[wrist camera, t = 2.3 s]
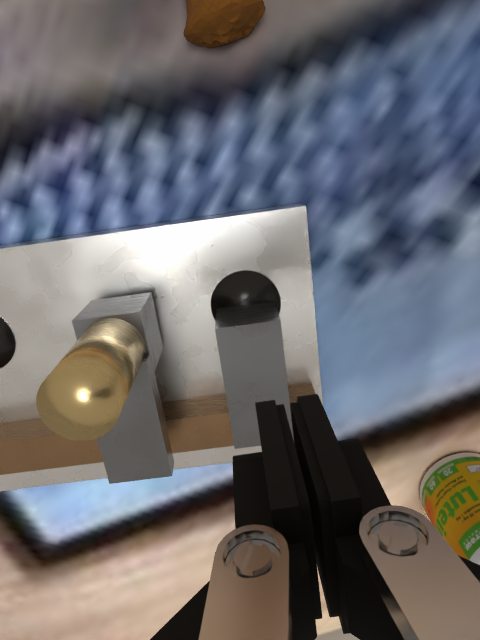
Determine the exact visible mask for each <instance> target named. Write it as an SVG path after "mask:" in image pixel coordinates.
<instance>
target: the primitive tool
mask: <svg viewBox="0 0 480 640" xmlns="http://www.w3.org/2000/svg"><path fill="white" fill-rule="evenodd" d="M186 1H187V21H186V27H185V30H184V36H185V37H186V40H187V41H189V42H192V43H194V44H197V45H198V46H206V47H209V48H212V47H217V46H221V45H223V44H227V43H231V42H234V41H236V40H238V39H240V38H243V37H246V36H248V35H249V33H250V32H251V31H252V30H253V28H254V27H255V24H256V23H257V22H258V20H259V19H260V18H261V17H262V15H263V14H264V11H265V6H264V2H263V0H186Z"/></svg>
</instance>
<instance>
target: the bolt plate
mask: <svg viewBox="0 0 480 640" xmlns="http://www.w3.org/2000/svg"><path fill="white" fill-rule="evenodd" d="M149 292H152V297H153V302H154V307H155V311H156V316H157V321H158V326H159V330H160V335H161V340H162V345H163V349H162V352H161V355H160V358H159V361H158V363H157V366H156V369H155V377H156V381H157V386H158V390H159V395H160V399H161V404H162V408H163V413H164V417H165V422H166V427H167V431H168V436H169V440H170V445H171V449H172V454H173V458H174V468H173V470H174V469H182V468H191V467H199V466H207V465H215V464H223V463H231V462H233V456H235V455H242V454H249V453H256V452H262V449H261V441H260V434H259V427H258V420H257V413H256V406H255V402H263V401H270V400H275V402H276V405H280V404H284V407H285V410H286V414H287V418H288V422H289V426H290V429H291V433H292V437H293V429H292V420H291V411H290V403H294V402H297V397H298V396H305V395H312V394H318V396H319V398H320V400H321V403H322V405H323V401H322V389H321V377H320V365H319V354H318V342H317V330H316V318H315V307H314V295H313V283H312V271H311V260H310V248H309V236H308V224H307V213H306V206H305V205H304V204H302V203H297V204H290V205H283V206H276V207H269V208H262V209H255V210H248V211H240V212H233V213H226V214H219V215H212V216H205V217H198V218H191V219H184V220H176V221H169V222H162V223H155V224H148V225H141V226H134V227H127V228H120V229H112V230H105V231H98V232H91V233H84V234H77V235H70V236H63V237H56V238H48V239H41V240H34V241H27V242H20V243H13V244H6V245H0V491H5V490H13V489H22V488H30V487H38V486H46V485H54V484H62V483H70V482H78V481H86V480H94V479H102V478H108V476H107V473H106V469H105V466H104V462H103V459H102V455H101V452H100V448H99V445H98V441H97V439H94V440H89V441H75V440H70V439H67V438H64V437H62V436H60V435H58V434H56V433H55V432H53V431H52V430H51V429H49V428H48V427H47V426H46V425H45V423H44V422H43V421H42V419H41V417H40V416H39V413H38V410H37V406H36V396H37V392H38V389H39V387H40V385H41V384H42V382H43V381H44V380H45V379H46V378H47V376H48V375H49V374H50V373H51V372H52V370H53V369H54V368H55V367H56V366H57V364H58V363H59V362H60V361H61V360H62V358H63V357H64V356H65V355H66V354H67V352H68V351H69V350H70V349H71V348H72V346H73V345H74V344H75V343H76V342H77V338H76V335H75V331H74V327H73V324H72V320H73V319H74V318H75V317H76V316H77V315H78V314H79V313H80V312H81V311H82V310H83V309H84V308H85V307H86V306H87V304H88V303H89V302H90V301H91V300H97V299H105V298H112V297H119V296H127V295H134V294H141V293H149ZM293 441H294V437H293Z"/></svg>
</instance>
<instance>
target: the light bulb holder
mask: <svg viewBox="0 0 480 640" xmlns="http://www.w3.org/2000/svg"><path fill="white" fill-rule="evenodd" d="M72 324H73V327H74V331H75V335H76V338H77V342H76V343H75V344H74V345H73V346H72V348H71V349H70V350H69V351H68V352H67V354H66V355H65V356H64V357H63V358H62V360H61V361H60V362H59V363H58V364H57V366H56V367H55V368H54V369H53V370H52V372H51V373H50V374H49V375H48V376H47V378H46V379H45V380H44V381H43V382H42V384H41V385H40V387H39V389H38V392H37V396H36V406H37V410H38V413H39V416H40V417H41V419H42V421H43V422H44V423H45V425H46V426H47V427H48V428H49V429H51V430H52V431H53V432H55V433H56V434H58V435H60V436H62V437H64V438H67V439H70V440H75V441H89V440H94V439H97V441H98V445H99V448H100V452H101V455H102V459H103V462H104V466H105V469H106V473H107V476H108V480H109V483H110V484H111V483H119V482H127V481H135V480H143V479H151V478H160V477H168V476H172V473H173V468H174V458H173V454H172V449H171V445H170V440H169V436H168V431H167V427H166V422H165V417H164V413H163V408H162V404H161V399H160V395H159V390H158V386H157V381H156V377H155V369H156V366H157V363H158V361H159V358H160V355H161V352H162V349H163V345H162V340H161V335H160V330H159V326H158V321H157V316H156V311H155V307H154V302H153V297H152V292H149V293H141V294H134V295H127V296H119V297H112V298H105V299H97V300H91V301H90V302H89V303H88V304H87V306H86V307H85V308H84V309H83V310H82V311H81V312H80V313H79V314H78V315H77V316H76V317H75V318H74V319H73V320H72Z"/></svg>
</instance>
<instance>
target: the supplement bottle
mask: <svg viewBox="0 0 480 640" xmlns="http://www.w3.org/2000/svg"><path fill="white" fill-rule="evenodd" d="M420 499H421V503H422V505H423V507H424V509H425V511H426V513H427V515H428V517H429V519H430V521H431V522H432V524H433V525H434V526H435V528H436V529H437V530H438V531H439V533H440V534H441V535H442V536H443V538H444V539H445V540H446V541H447V543H448V544H449V545H450V546H451V548H452V549H453V550H454V551H455V552H456V554H457V555H459V556H461V557H463V558H465V559H467V560H470V561H472V562H474V563H476V564H478V565H480V454H477V453H458V454H454V455H450V456H448V457H445V458H443V459H441V460H440V461H438V462H437V463H435V464H434V465H433V466H432V467H431V468H430V469H429V470H428V471H427V472H426V474H425V476H424V477H423V480H422V482H421V485H420Z"/></svg>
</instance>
